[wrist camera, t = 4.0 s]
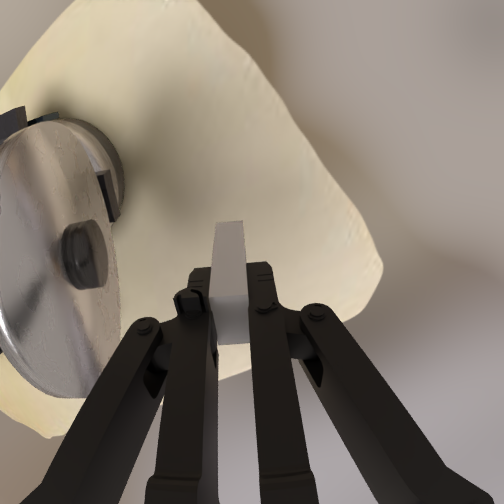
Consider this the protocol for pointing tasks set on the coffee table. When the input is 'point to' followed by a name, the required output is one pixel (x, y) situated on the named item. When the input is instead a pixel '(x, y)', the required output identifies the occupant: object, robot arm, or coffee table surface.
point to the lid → (55, 263)
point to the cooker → (93, 144)
